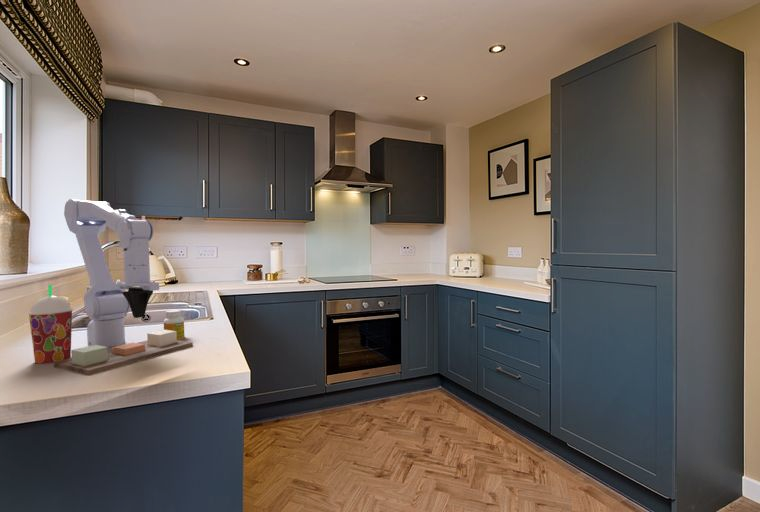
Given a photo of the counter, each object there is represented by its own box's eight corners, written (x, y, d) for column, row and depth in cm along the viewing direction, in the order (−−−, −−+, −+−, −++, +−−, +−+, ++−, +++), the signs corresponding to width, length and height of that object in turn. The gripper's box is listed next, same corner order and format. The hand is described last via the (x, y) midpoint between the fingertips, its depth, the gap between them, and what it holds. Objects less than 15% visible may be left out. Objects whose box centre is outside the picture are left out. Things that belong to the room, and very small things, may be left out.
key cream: (147, 348, 108) (147, 333, 108) (164, 343, 112) (164, 329, 112) (159, 350, 105) (159, 335, 105) (176, 345, 110) (176, 331, 110)
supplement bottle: (176, 346, 116) (175, 312, 115) (159, 345, 117) (158, 312, 116) (188, 341, 121) (187, 309, 120) (173, 340, 122) (171, 309, 122)
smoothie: (74, 358, 104) (71, 282, 103) (75, 366, 97) (71, 284, 97) (31, 365, 99) (28, 284, 98) (29, 373, 92) (25, 287, 92)
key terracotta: (113, 363, 100) (112, 347, 100) (133, 357, 104) (132, 342, 104) (125, 365, 97) (124, 349, 97) (145, 359, 102) (144, 344, 102)
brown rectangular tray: (54, 373, 92) (53, 362, 92) (159, 346, 116) (159, 337, 115) (88, 381, 86) (88, 370, 86) (192, 351, 109) (192, 342, 109)
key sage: (72, 367, 92) (71, 350, 91) (95, 361, 96) (95, 344, 96) (84, 370, 89) (83, 352, 89) (108, 363, 94) (107, 347, 94)
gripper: (104, 266, 104) (106, 318, 104) (139, 266, 98) (141, 321, 98) (131, 264, 110) (133, 313, 111) (165, 264, 104) (167, 316, 104)
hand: (139, 317), depth 105 cm, fingers closed
